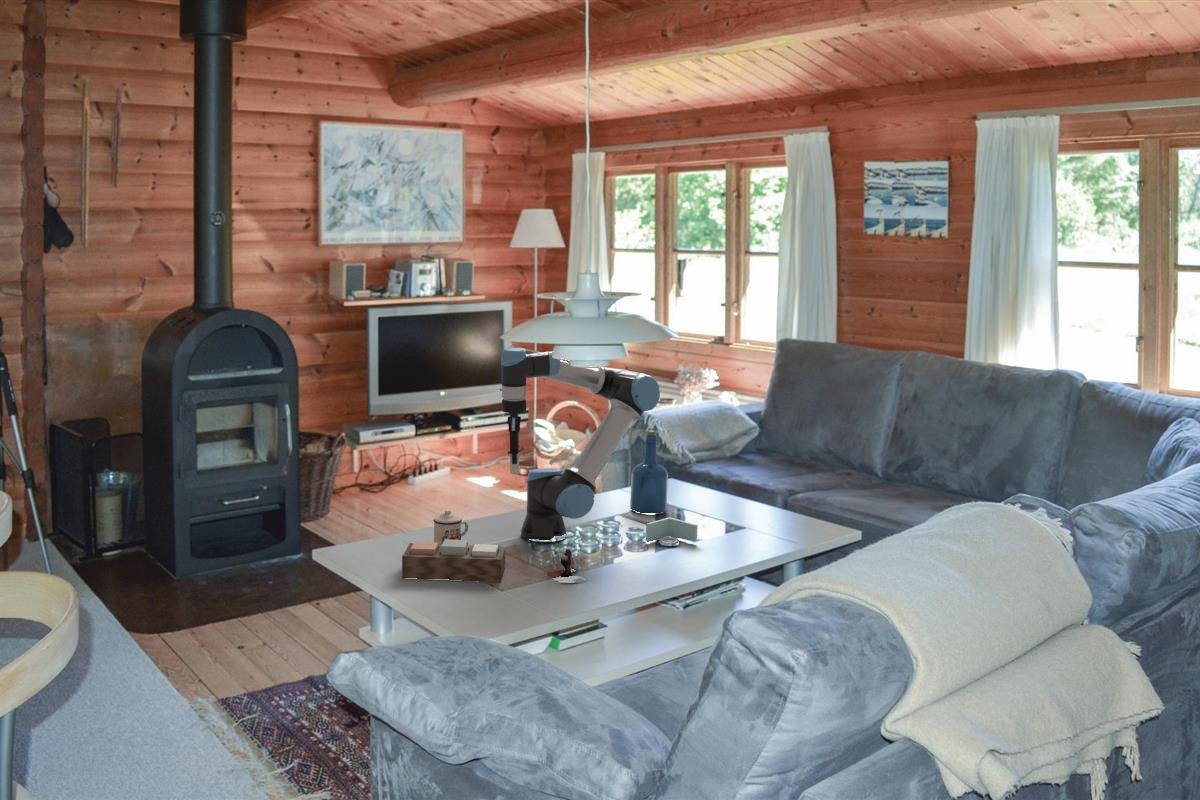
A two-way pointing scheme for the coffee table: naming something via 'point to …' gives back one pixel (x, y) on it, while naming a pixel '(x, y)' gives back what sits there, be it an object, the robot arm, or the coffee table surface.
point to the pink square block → (424, 548)
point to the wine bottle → (649, 481)
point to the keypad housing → (454, 566)
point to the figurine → (566, 563)
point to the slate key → (454, 547)
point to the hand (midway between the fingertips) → (514, 473)
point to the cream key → (485, 550)
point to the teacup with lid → (448, 527)
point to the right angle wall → (670, 530)
